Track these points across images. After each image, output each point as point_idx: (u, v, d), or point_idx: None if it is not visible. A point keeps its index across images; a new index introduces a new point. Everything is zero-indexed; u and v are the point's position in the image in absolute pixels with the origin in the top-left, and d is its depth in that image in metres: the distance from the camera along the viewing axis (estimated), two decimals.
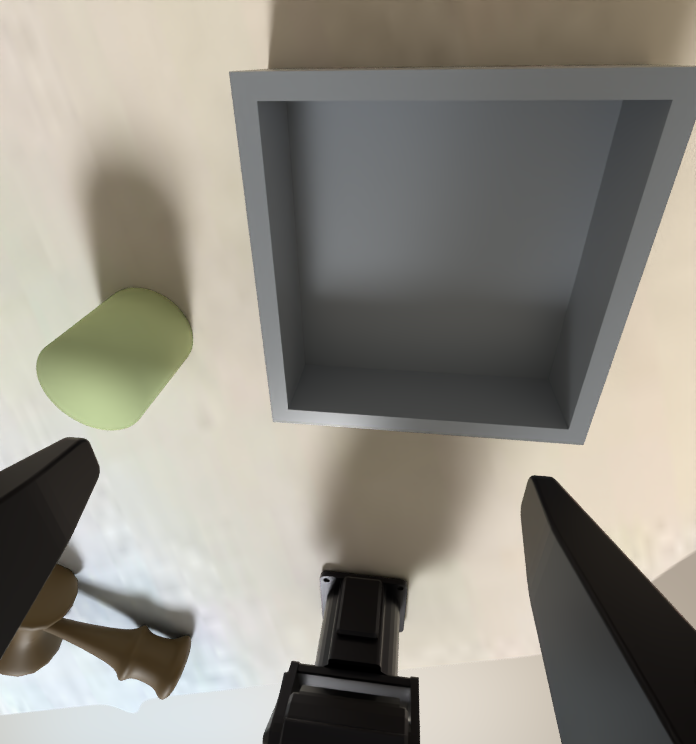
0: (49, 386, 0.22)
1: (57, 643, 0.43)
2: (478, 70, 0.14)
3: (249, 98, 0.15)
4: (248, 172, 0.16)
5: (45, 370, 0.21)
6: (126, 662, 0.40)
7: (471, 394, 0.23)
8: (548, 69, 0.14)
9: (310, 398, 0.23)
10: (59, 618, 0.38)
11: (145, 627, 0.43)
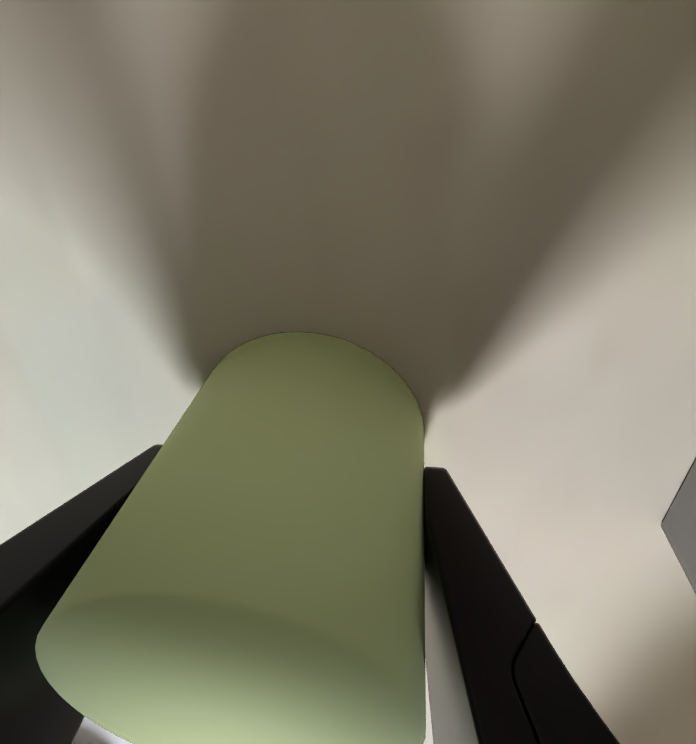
0: (80, 689, 0.06)
1: None
2: None
3: None
4: None
5: (69, 658, 0.06)
6: None
7: None
8: None
9: None
10: None
11: None
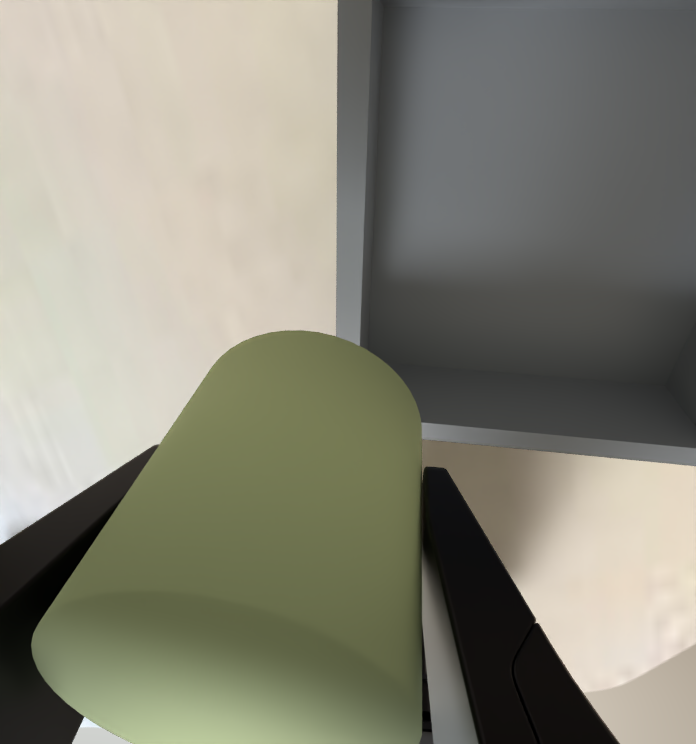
0: (76, 688, 0.06)
1: None
2: None
3: None
4: (346, 98, 0.12)
5: (65, 656, 0.06)
6: None
7: (578, 402, 0.19)
8: None
9: None
10: None
11: None
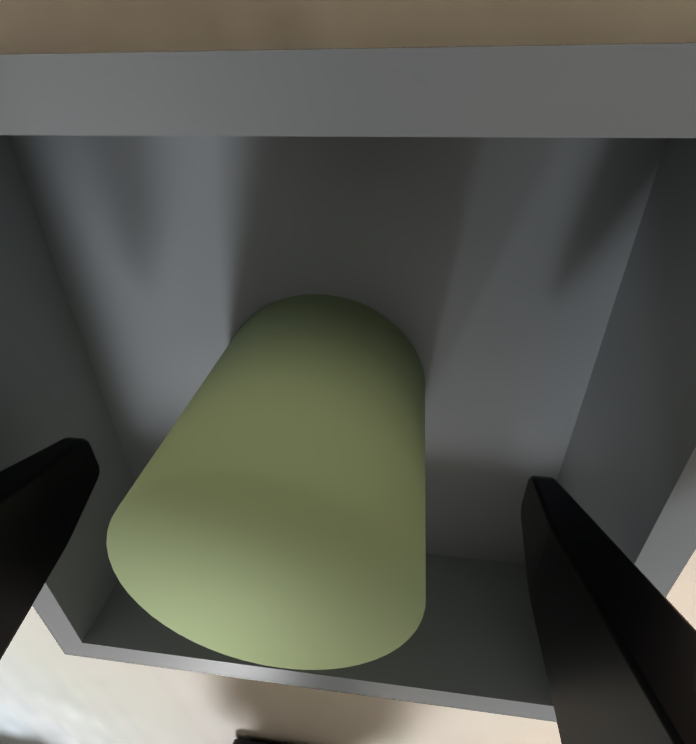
0: (139, 575, 0.08)
1: None
2: (288, 53, 0.05)
3: None
4: None
5: (134, 543, 0.07)
6: None
7: None
8: (487, 49, 0.05)
9: (130, 612, 0.14)
10: None
11: None
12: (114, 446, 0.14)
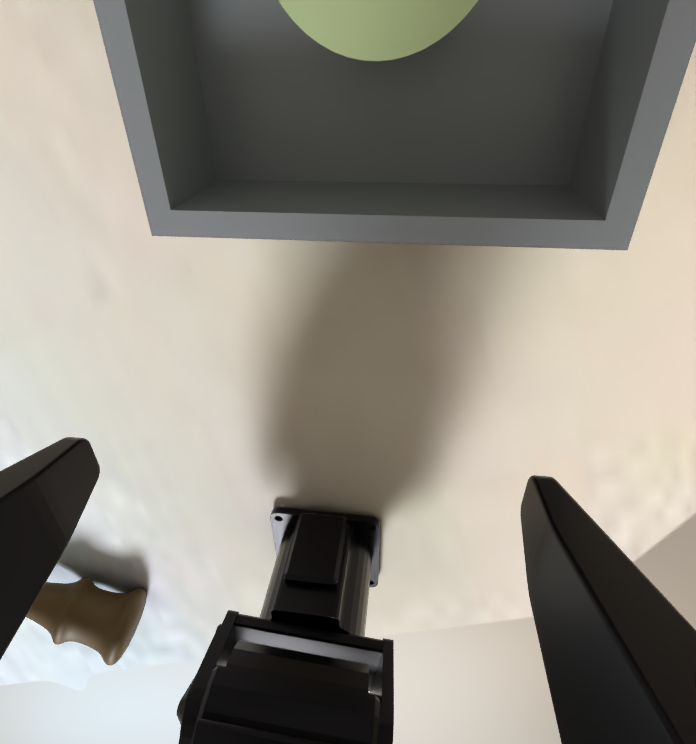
0: None
1: None
2: None
3: None
4: None
5: None
6: (57, 620, 0.32)
7: (453, 196, 0.15)
8: None
9: (210, 202, 0.15)
10: None
11: (86, 579, 0.35)
12: (193, 55, 0.15)
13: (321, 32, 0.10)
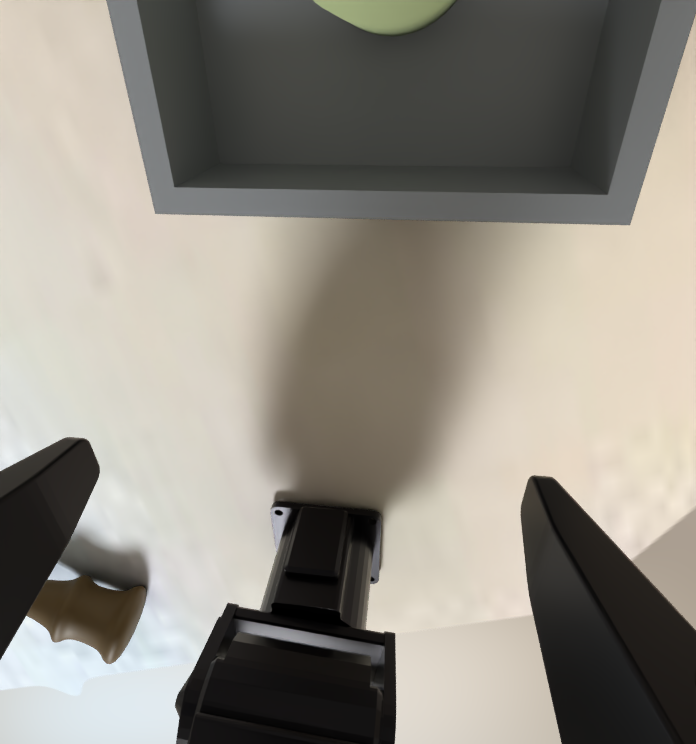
0: None
1: None
2: None
3: None
4: None
5: None
6: (56, 617, 0.32)
7: (455, 176, 0.15)
8: None
9: (213, 181, 0.15)
10: None
11: (85, 576, 0.34)
12: (198, 37, 0.15)
13: None
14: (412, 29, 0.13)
